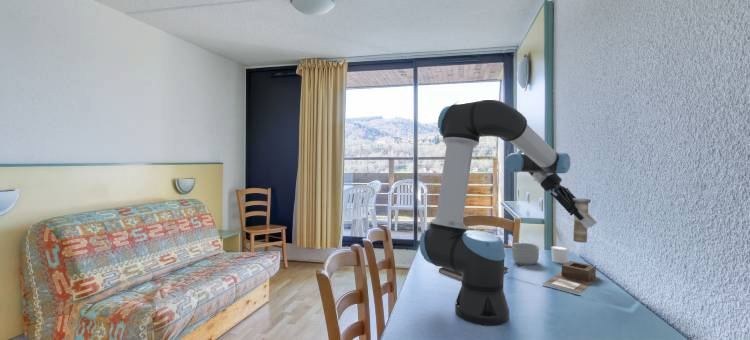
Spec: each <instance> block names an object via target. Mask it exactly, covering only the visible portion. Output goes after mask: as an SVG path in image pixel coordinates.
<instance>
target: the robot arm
mask: <svg viewBox="0 0 750 340" xmlns="http://www.w3.org/2000/svg"><path fill="white" fill-rule="evenodd" d="M437 128H438V132H439V134H440V135H441V136H442V142H443V143H444V144H445V151H444V152H445V154H444V160H443V168H442V173H441V179H440V180H441V181H440V188H439V193H438V194H439V195H438V200H437V207H436V215H435V217H434V219H432V220H431V221H430V223H429V227H426V228H425V229H424V230H423V232H422V233H421V235H420V238H419V250H420V254H421V256H422V257H423V259H424V260H425V261H426V262H427V263H430V264H432V265H434V266H435V267H439V268H442V267H443V268H447V269H450V270H453V271H456V272H460V273H462V280H461V287H460V289H459V292H458V294H457V297H456V300H455V303H454V313H455V314H456V315H457V316H458V317H459V318H460V319H462V320H464V321H466V322H467V323H470V324H475V325H480V326H489V327H491V326H501V325H504V324H505V323H508V321H509V319H510V307H509V305H508V301H507V299H506V295H505V291H504V284H505V283H504V281H505V280H504V277H505V273H504V267H505V258H506V253H505V244H504V241H503V240H502V239H501V238H500V237H499V236H497V235H495V234H493V233H490V232H486V231H483V230H482V231H481V230H467V229H468V228H467V226H466V225H465V224H464V216H465V215H464V214H465V209H466V201H467V195H468V187H469V179H470V173H471V165H472V157H473V150H474V149H475V148H476V147H477V146H478V145H479V143H480V138H482V137H496V138H500V139H501V140H503V141H505V142H509V143H511V144H512V145H513V146H514V147H516V149H518V151H517V152H513V153H512V152H511V153H509V154H508V155H506V157H505V159H504V166H505V167H504V168H505V169H506V170H507V171H508V172H511V173H519V172H520V173H521V172H522V173H528V174H529V175H530V176H531V177H532V178H533V181H534V182H537V183H538V184H540V187H541V188H542V189H543V190H544V191H545V192H550V191H551V192H550V196H552V197H553V198H554V199H555V200H556V201H557V202H558V203H559V204H560V205H561V206H562V207H563V208H564V209H565V210H566V211H567V213H568V214H569V216H571V217H572V216H573V217H574V216H575V217H576V218H577V219H578V220H579V221H580V222H581V223H582V224H583V226H584V227H585V228H586V229H587V230H588V228H590V227H591V228H592V227H593V226H595V225H596V224H597V223H598V222H597V220H595V218H593V216H591V215H592V214H590V213H589V212H588V218H587V217H586V216H585V215H584V214H583V213H582V212H581V211H580V210H579V211H578V209H577V208H576V207H575V202H574V201H573V198H577V197H576V196H575V195H574V194H573V193H572V192H571V191H570V189H569V188H568V187H565V186H562V185H561V184H560V183H562V181H563V179H562V178H561V177H560V176H559V175H558V174H566V173H568V172H569V170H570V168H571V157H570V155H569V154H568V153H566V152H561V151H560V152H557V151H555V150H554V148H553V147H551V146H550V145H549V144H548V143H547V141H545V140H544V139H543V138H542V137H541V136H540V135H539V134H538V133H537V132H536V131H535V130H534V129H533V128H532V127H530V125H529V124H528V120H527V118H526V117H525V115H524V114H522V113H521V112H520V111H519V110H517V108H514V107H513V106H512V105H509V104H508V103H506V102H502V101H501V100H498V99H493V98H482V99H475V100H469V101H468V100H467V101H455V102H454V103H449V104H447V105H446V106H445V107H443V108H442V109H441V111H440V113H439V115H438V119H437Z"/></svg>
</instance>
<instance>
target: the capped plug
mask: <svg viewBox="0 0 750 340" xmlns="http://www.w3.org/2000/svg"><path fill="white" fill-rule="evenodd" d="M573 201H574V202H575V207H576V208H577V209H578V211H579V210H580V211H581V212H582V213H583V214H584V215H585V216H586V217H587V218H588V213H589V204H590V203H591V199H589V198H582V197H581V198H579V197H576V198H573ZM572 241H574V242H576V243H587V242H588V228H587V229H586V228H585V227H584V226H583V224H582V223H581V222H580V221H579V220H578V219H577V218H576V217H575V216H574V215H573V240H572Z"/></svg>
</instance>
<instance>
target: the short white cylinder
mask: <svg viewBox="0 0 750 340" xmlns="http://www.w3.org/2000/svg"><path fill="white" fill-rule="evenodd" d="M550 248H551V249H550V251H551V261H552V262H554V263H557V264H565V263H567V262H568V260H569V252H570V248H568V247H565V246H560V245H552V246H550Z"/></svg>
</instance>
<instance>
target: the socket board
mask: <svg viewBox="0 0 750 340" xmlns="http://www.w3.org/2000/svg"><path fill="white" fill-rule="evenodd" d="M596 272H597V266H596V265H593V264H587V263H584V262H578V261H573V260H569V261H567V263H563V264H562V265H561V272H559V273H558V274H556V275H555V276H552V277H551V278H550V279H548V280H546V281H544V282H543V283H542V284H543V285H542V287H544V288H548V289H552V290H554V291H559V292H562V293H566V294H570V295H574V296H576V297H581V296H582V295H581V293H582V292H584V291H585V290H587V289H588V288H589V287H590V286H591V285H593V284H594V283H595V282H597V281H598V280H600V279H601V277H600V276H597V275H596ZM576 293H577V294H576Z"/></svg>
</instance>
